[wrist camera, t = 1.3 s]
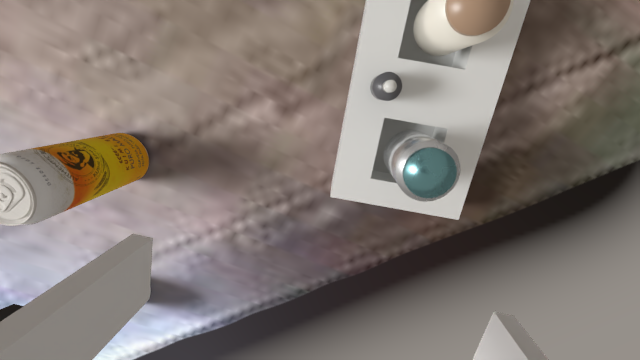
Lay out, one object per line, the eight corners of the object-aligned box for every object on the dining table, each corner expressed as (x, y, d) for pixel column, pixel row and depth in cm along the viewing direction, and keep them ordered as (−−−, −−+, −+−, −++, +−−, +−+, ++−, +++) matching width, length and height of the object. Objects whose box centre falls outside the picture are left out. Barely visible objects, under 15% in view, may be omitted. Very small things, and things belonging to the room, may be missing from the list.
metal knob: (389, 125, 30) (406, 136, 22) (439, 134, 30) (472, 148, 22) (378, 173, 31) (390, 198, 24) (425, 182, 31) (452, 209, 24)
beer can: (162, 155, 37) (52, 194, 23) (135, 188, 39) (17, 244, 25) (122, 121, 37) (-18, 140, 22) (97, 156, 38) (-50, 195, 24)
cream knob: (421, -10, 26) (452, -49, 19) (477, 0, 26) (530, -36, 19) (407, 50, 28) (431, 35, 20) (460, 60, 28) (503, 48, 20)
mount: (373, -40, 30) (379, -65, 26) (510, -16, 30) (542, -37, 25) (331, 183, 37) (330, 196, 32) (442, 203, 37) (458, 219, 32)
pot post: (373, 72, 29) (379, 68, 24) (398, 76, 29) (408, 73, 24) (367, 97, 29) (373, 98, 25) (392, 101, 29) (401, 103, 25)
